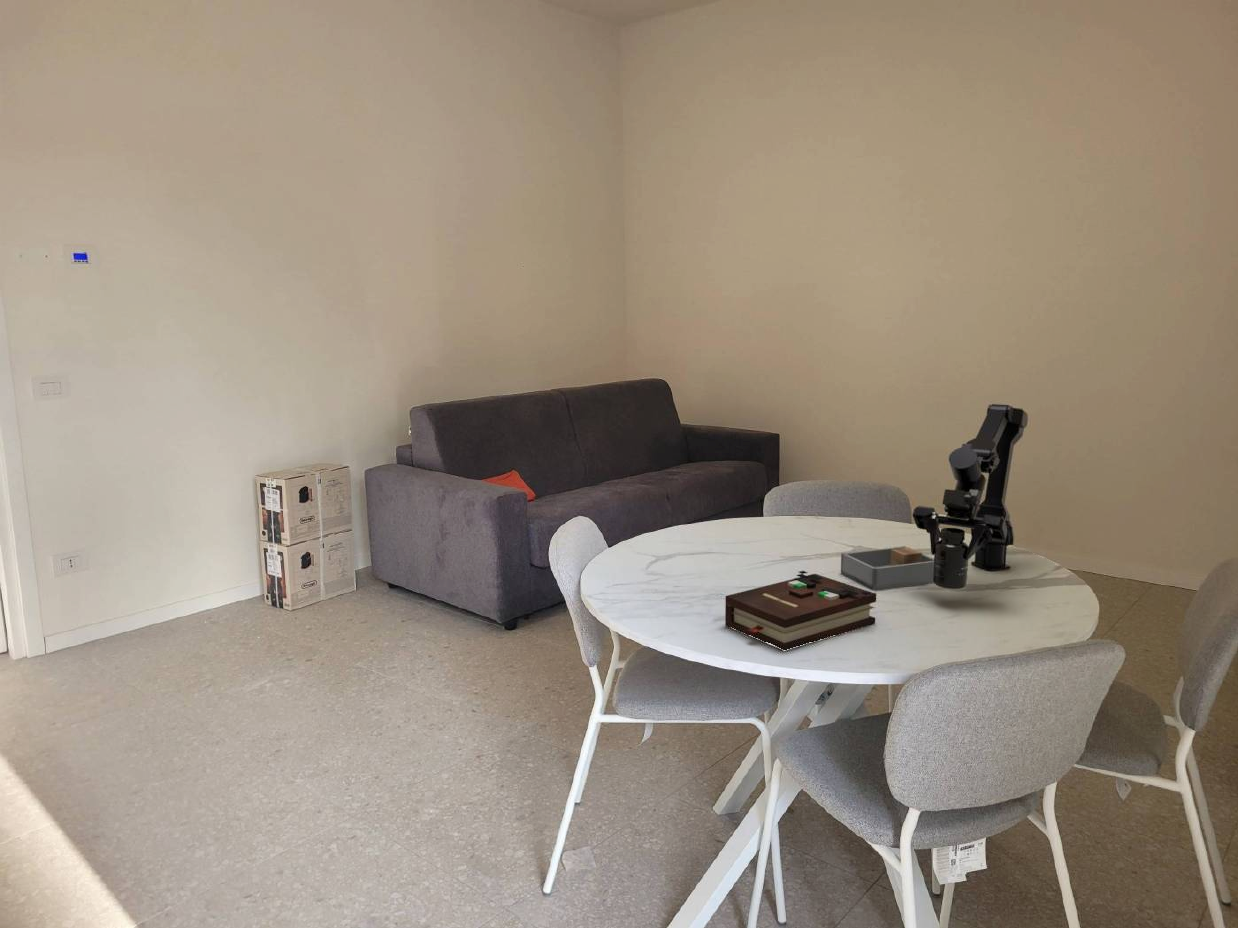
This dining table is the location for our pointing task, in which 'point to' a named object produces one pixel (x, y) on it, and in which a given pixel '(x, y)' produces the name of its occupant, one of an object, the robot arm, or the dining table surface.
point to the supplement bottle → (950, 559)
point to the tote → (885, 569)
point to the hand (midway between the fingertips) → (949, 556)
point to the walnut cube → (905, 556)
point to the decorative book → (799, 610)
